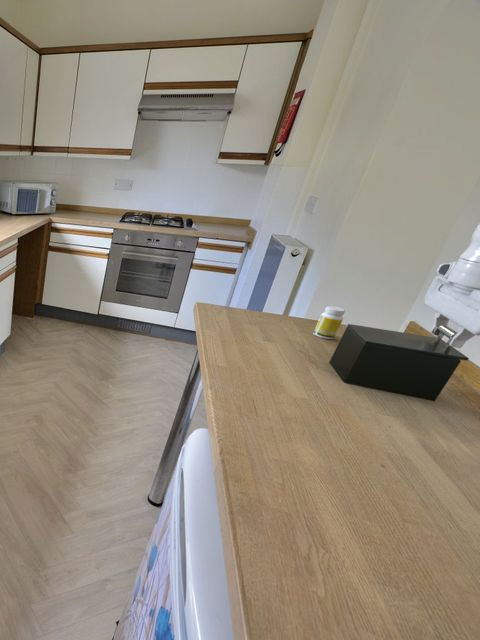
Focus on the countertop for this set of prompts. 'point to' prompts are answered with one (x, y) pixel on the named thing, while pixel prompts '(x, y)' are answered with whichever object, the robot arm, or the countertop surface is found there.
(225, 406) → the countertop surface
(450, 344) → the robot arm
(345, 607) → the countertop surface
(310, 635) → the countertop surface
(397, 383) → the bin
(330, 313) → the supplement bottle
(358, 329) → the bin lid
